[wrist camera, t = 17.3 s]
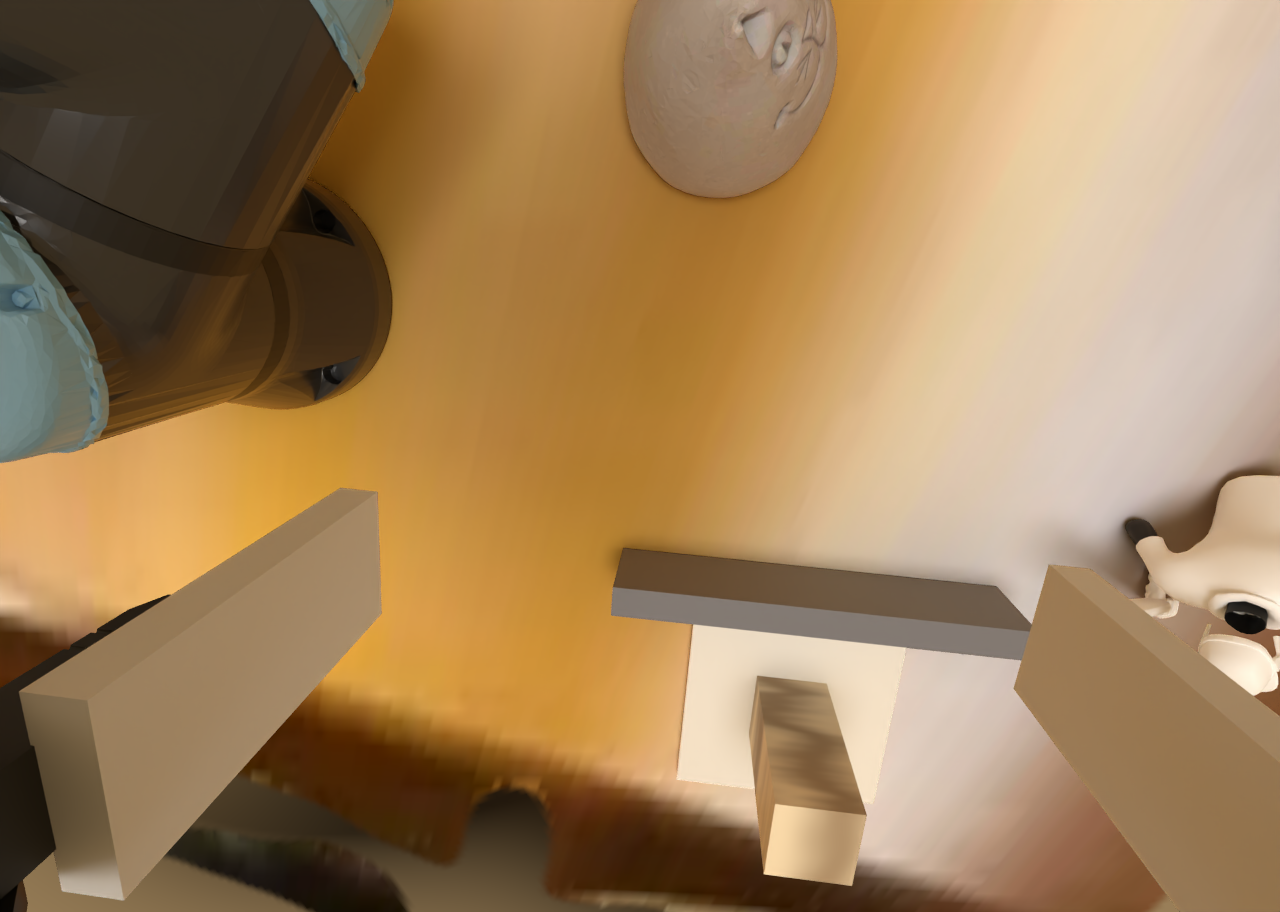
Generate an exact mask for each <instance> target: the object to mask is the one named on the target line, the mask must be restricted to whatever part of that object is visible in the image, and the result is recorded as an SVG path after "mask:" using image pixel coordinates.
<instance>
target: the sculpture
mask: <svg viewBox="0 0 1280 912" xmlns="http://www.w3.org/2000/svg"><path fill="white" fill-rule="evenodd" d="M836 67H837V36H836V24H835V16H834V11H833V7H832V4H831V0H638V1H637V4H636V6H635V8H634V11H633V15H632V18H631V22H630V26H629V32H628V38H627V44H626V51H625V58H624V89H625V101H626V110H627V115H628V120H629V124H630V128H631V132H632V135H633V137H634V140H635V142H636V144H637V146H638V148H639V149H640V151H641V152H642V154H643V155H644V157H645V158H646V160H647V161H648V163H649V164H650V165H651V167H652V168H653V169H654V170H655V171H656V172H657V173H658V174H659V176H660V177H661V178H662V179H663V180H664V181H665V182H667V183H668V184H670V185H671V186H673V187H674V188H677V189H679V190H681V191H684V192H686V193H689V194H692V195H697V196H702V197H712V198H727V197H735V196H740V195H743V194H747V193H749V192H752V191H754V190H757V189H759V188H761V187H764V186H766V185H768V184H769V183H771V182H773V181H775V180H776V179H778V178H779V177H781V176H782V175H783V174H785V173H786V172H787V171H788V170H789V169H790V168H791V167H793V165H794V164H795V163H796V162H797V160H798V159H799V158H800V156H801V155H802V153H803V152H804V150H805V149H806V147H807V146H808V144H809V142H810V141H811V139H812V138H813V136H814V134H815V133H816V131H817V129H818V126H819V125H820V123H821V120H822V118H823V116H824V113H825V111H826V108H827V106H828V103H829V100H830V97H831V93H832V89H833V85H834V81H835V75H836Z"/></svg>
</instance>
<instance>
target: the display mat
mask: <svg viewBox="0 0 1280 912" xmlns="http://www.w3.org/2000/svg"><path fill="white" fill-rule="evenodd" d="M905 653H906V648H904V647H895V646H886V645H877V644H867V643H858V642H849V641H840V640H831V639H822V638H813V637H803V636H794V635H785V634H776V633H767V632H758V631H749V630H739V629H730V628H721V627H712V626H703V625H694V624H693V628H692V637H691V646H690V656H689V665H688V674H687V684H686V693H685V702H684V711H683V721H682V730H681V739H680V749H679V758H678V767H677V780H684V781H692V782H700V783H708V784H716V785H724V786H732V787H740V788H748V789H755V786H754V776H753V767H752V757H751V748H750V738H749V729H750V722H751V715H752V708H753V701H754V694H755V687H756V680H757V676H765V677H774V678H783V679H792V680H800V681H809V682H818V683H827V686H828V690H829V693H830V696H831V700H832V703H833V706H834V709H835V713H836V716H837V719H838V723H839V726H840V729H841V733H842V736H843V739H844V742H845V746H846V749H847V752H848V756H849V759H850V762H851V765H852V769H853V772H854V775H855V779H856V782H857V785H858V789H859V792H860V795H861V798H862V802H863V803H869V804H873V803H874V799H875V794H876V789H877V785H878V780H879V775H880V770H881V766H882V761H883V756H884V752H885V747H886V742H887V738H888V733H889V728H890V724H891V719H892V714H893V709H894V705H895V700H896V695H897V691H898V686H899V681H900V677H901V672H902V667H903V662H904V658H905Z"/></svg>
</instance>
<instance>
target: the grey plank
mask: <svg viewBox="0 0 1280 912" xmlns="http://www.w3.org/2000/svg"><path fill="white" fill-rule="evenodd" d="M611 615H612V616H621V617H630V618H639V619H648V620H657V621H666V622H676V623H685V624H694V625H703V626H712V627H721V628H730V629H739V630H749V631H758V632H767V633H776V634H785V635H794V636H803V637H813V638H822V639H831V640H840V641H849V642H858V643H867V644H877V645H886V646H895V647H904V648H913V649H922V650H931V651H941V652H950V653H959V654H968V655H977V656H986V657H995V658H1005V659H1014V660H1022V658H1023V654H1024V651H1025V647H1026V644H1027V640H1028V637H1029V633H1030V630H1031V626H1032V624H1031V623H1030V622H1029V621H1028V620H1027V619H1026V618H1025V617H1024V616H1023V615H1022V614H1021V613H1020V611H1019V610H1018V609H1017V608H1016V607H1015V606H1014V605H1013V604H1012V603H1011V602H1010V601H1009V600H1008V598H1007V597H1006V596H1005V595H1004V594H1003V593H1002V592H1001V591H1000V590H999V589H998V588H997V587H996V586H986V585H977V584H967V583H957V582H948V581H938V580H928V579H918V578H909V577H899V576H889V575H880V574H870V573H860V572H850V571H841V570H831V569H821V568H812V567H802V566H792V565H783V564H773V563H763V562H753V561H744V560H734V559H724V558H715V557H705V556H695V555H685V554H676V553H666V552H656V551H647V550H637V549H627V548H623V551H622V555H621V559H620V563H619V566H618V570H617V574H616V578H615V581H614V585H613V594H612V609H611Z"/></svg>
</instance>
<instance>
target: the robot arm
mask: <svg viewBox="0 0 1280 912" xmlns="http://www.w3.org/2000/svg"><path fill="white" fill-rule="evenodd" d="M393 3H394V0H0V463H4V462H11V461H16V460H21V459H25V458H29V457H34V456H38V455H42V454H47V453H57V452H61V453H70V452H75V451H78V450H81V449H84V448H86V447H88V446H89V444H94V443H95V442H97V441H100V440H103V439H106V438H110V437H113V436H116V435H119V434H122V433H126V432H129V431H132V430H135V429H139V428H142V427H145V426H148V425H152V424H155V423H158V422H161V421H165V420H168V419H171V418H174V417H177V416H181V415H184V414H187V413H191V412H194V411H197V410H201V409H204V408H208V407H211V406H214V405H218V404H221V403H224V402H228V403H235V404H241V405H247V406H254V407H260V408H268V409H294V408H301V407H307V406H310V405H314V404H317V403H319V402H322V401H325V400H328V399H330V398H333V397H336V396H338V395H340V394H342V393H344V392H346V391H347V390H349V389H350V388H352V387H353V386H355V385H356V384H357V383H358V382H360V381H361V380H362V379H363V378H364V377H365V376H366V375H367V373H368V372H369V371H370V370H371V368H372V367H373V366H374V364H375V363H376V361H377V359H378V358H379V356H380V354H381V352H382V350H383V347H384V345H385V342H386V339H387V336H388V332H389V327H390V321H391V290H390V283H389V278H388V274H387V270H386V267H385V264H384V261H383V258H382V256H381V253H380V251H379V249H378V247H377V245H376V243H375V241H374V239H373V237H372V236H371V234H370V232H369V231H368V229H367V228H366V226H365V225H364V224H363V222H362V221H361V220H360V218H359V217H358V216H357V215H356V214H355V213H354V212H353V210H352V209H351V208H350V207H349V206H347V205H346V204H345V203H344V202H343V201H342V200H341V199H340V198H338V197H337V196H336V195H334V194H333V193H332V192H330V191H329V190H327V189H326V188H324V187H323V186H321V185H319V184H317V183H315V182H313V181H311V180H309V179H308V177H309V175H310V173H311V171H312V170H313V168H314V166H315V164H316V162H317V160H318V159H319V157H320V155H321V153H322V151H323V149H324V148H325V146H326V144H327V142H328V140H329V138H330V136H331V135H332V133H333V131H334V129H335V127H336V125H337V124H338V122H339V120H340V118H341V116H342V114H343V113H344V111H345V109H346V107H347V105H348V103H349V102H350V100H351V98H352V96H353V94H354V92H358V93H360V91H361V90H362V88H363V87H364V84H365V80H366V79H365V74H364V71H365V69H366V67H367V65H368V63H369V61H370V59H371V57H372V54H373V52H374V50H375V48H376V46H377V44H378V42H379V40H380V38H381V36H382V34H383V32H384V29H385V27H386V25H387V23H388V21H389V19H390V16H391V13H392V9H393ZM381 614H382V611H381V581H380V551H379V520H378V492H375V491H365V490H356V489H347V488H340V489H338V490H336V491H335V492H333V493H332V494H330V495H329V496H327V497H325V498H324V499H322V500H321V501H319V502H317V503H316V504H314V505H313V506H311V507H310V508H308V509H306V510H305V511H303V512H302V513H300V514H299V515H297V516H295V517H294V518H292V519H291V520H289V521H287V522H286V523H284V524H283V525H281V526H280V527H278V528H276V529H275V530H273V531H272V532H270V533H268V534H267V535H265V536H264V537H262V538H261V539H259V540H257V541H256V542H254V543H253V544H251V545H250V546H248V547H246V548H245V549H243V550H242V551H240V552H238V553H237V554H235V555H234V556H232V557H231V558H229V559H227V560H226V561H224V562H223V563H221V564H220V565H218V566H216V567H215V568H213V569H212V570H210V571H208V572H207V573H205V574H204V575H202V576H201V577H199V578H197V579H196V580H194V581H193V582H191V583H189V584H188V585H186V586H185V587H183V588H182V589H180V590H178V591H177V592H175V593H174V594H172V595H166V596H163V597H161V598H158V599H155V600H153V601H150V602H147V603H145V604H142V605H139V606H137V607H134V608H131V609H129V610H127V611H126V612H124V613H122V614H121V615H119V616H117V617H116V618H114V619H113V620H111V621H109V622H108V623H106V624H104V625H103V626H101V627H99V628H98V629H97V632H96V633H90V634H88V635H86V636H85V637H83V638H81V639H80V640H78V641H77V642H75V643H73V644H72V645H71V647H70V649H69V650H65V649H63V650H62V651H60V652H59V653H57V654H55V655H54V656H52V657H50V658H49V659H47V660H45V661H44V662H42V663H41V664H39V665H37V666H36V667H34V668H32V669H31V670H29V671H27V672H26V673H24V674H23V675H21V676H19V677H18V678H16V679H14V680H13V681H11V682H9V683H8V684H6V685H5V686H3V687H1V688H0V912H26V911H27V904H28V902H27V897H26V892H25V887H24V884H23V879H24V878H25V877H26V876H27V875H28V874H30V873H31V872H32V871H33V870H34V869H35V868H36V867H37V866H38V865H39V864H40V863H42V862H43V861H44V860H45V859H46V858H47V857H48V856H49V855H50V854H51V853H52V852H54V856H55V861H56V865H57V870H58V875H59V879H60V884H61V889H62V891H63V892H70V893H78V894H84V895H91V896H97V897H104V898H111V899H118V900H125V899H126V897H127V896H128V895H129V894H130V893H131V892H132V891H133V890H134V889H135V887H136V886H137V885H138V884H139V883H140V882H141V881H142V880H143V878H144V877H145V876H146V875H147V874H148V873H149V872H150V871H151V870H152V868H153V867H154V866H155V865H156V864H157V863H158V862H159V861H160V860H161V858H162V857H163V856H164V855H165V854H166V853H167V852H168V851H169V850H170V848H171V847H172V846H173V845H174V844H175V843H176V842H177V841H178V840H179V838H180V837H181V836H182V835H183V834H184V833H185V832H186V831H187V830H188V828H189V827H190V826H191V825H192V824H193V823H194V822H195V821H196V820H197V818H198V817H199V816H200V815H201V814H202V813H203V812H204V811H205V810H206V808H207V807H208V806H209V805H210V804H211V803H212V802H213V801H214V799H215V798H216V797H217V796H218V795H219V794H220V793H221V792H222V791H223V789H224V788H225V787H226V786H227V785H228V784H229V783H230V782H231V781H232V779H233V778H234V777H235V776H236V775H237V774H238V773H239V772H240V771H241V769H242V768H243V767H244V766H245V765H246V764H247V763H248V762H249V761H250V759H251V758H252V757H253V756H254V755H255V754H256V753H257V752H258V751H259V749H260V748H261V747H262V746H263V745H264V744H265V743H266V742H267V741H268V739H269V738H270V737H271V736H272V735H273V734H274V733H275V732H276V730H277V729H278V728H279V727H280V726H281V725H282V724H283V723H284V722H285V720H286V719H287V718H288V717H289V716H290V715H291V714H292V713H293V712H294V710H295V709H296V708H297V707H298V706H299V705H300V704H301V703H302V702H303V700H304V699H305V698H306V697H307V696H308V695H309V694H310V693H311V692H312V690H313V689H314V688H315V687H316V686H317V685H318V684H319V683H320V682H321V680H322V679H323V678H324V677H325V676H326V675H327V674H328V673H329V672H330V670H331V669H332V668H333V667H334V666H335V665H336V664H337V663H338V661H339V660H340V659H341V658H342V657H343V656H344V655H345V654H346V653H347V651H348V650H349V649H350V648H351V647H352V646H353V645H354V644H355V643H356V641H357V640H358V639H359V638H360V637H361V636H362V635H363V634H364V633H365V631H366V630H367V629H368V628H369V627H370V626H371V625H372V624H373V623H374V621H375V620H376V619H377V618H378V617H379V616H380V615H381ZM1014 690H1015V691H1016V692H1017V694H1018V695H1019V696H1020V698H1021V699H1022V700H1023V702H1024V703H1025V704H1026V706H1027V707H1028V709H1029V710H1030V711H1031V713H1032V714H1033V715H1034V717H1035V718H1036V719H1037V721H1038V722H1039V723H1040V725H1041V726H1042V727H1043V729H1044V730H1045V731H1046V733H1047V734H1048V735H1049V737H1050V738H1051V740H1052V741H1053V742H1054V744H1055V745H1056V746H1057V748H1058V749H1059V750H1060V752H1061V753H1062V754H1063V756H1064V757H1065V758H1066V760H1067V761H1068V762H1069V764H1070V765H1071V766H1072V768H1073V769H1074V771H1075V772H1076V773H1077V775H1078V776H1079V777H1080V779H1081V780H1082V781H1083V783H1084V784H1085V785H1086V787H1087V788H1088V789H1089V791H1090V792H1091V793H1092V795H1093V796H1094V797H1095V799H1096V800H1097V802H1098V803H1099V804H1100V806H1101V807H1102V808H1103V810H1104V811H1105V812H1106V814H1107V815H1108V816H1109V818H1110V819H1111V820H1112V822H1113V823H1114V824H1115V826H1116V827H1117V828H1118V830H1119V831H1120V833H1121V834H1122V835H1123V837H1124V838H1125V839H1126V841H1127V842H1128V843H1129V845H1130V846H1131V847H1132V849H1133V850H1134V851H1135V853H1136V854H1137V855H1138V857H1139V858H1140V859H1141V861H1142V862H1143V864H1144V865H1145V866H1146V868H1147V869H1148V870H1149V872H1150V873H1151V874H1152V876H1153V877H1154V878H1155V880H1156V881H1157V882H1158V884H1159V885H1160V886H1161V888H1162V889H1163V890H1164V892H1165V893H1166V895H1167V896H1168V897H1169V899H1170V900H1171V901H1172V903H1173V904H1174V905H1175V907H1176V908H1177V909H1178V910H1179V912H1280V716H1278V715H1277V714H1276V713H1275V712H1273V711H1272V710H1271V709H1269V708H1268V707H1267V706H1266V705H1264V704H1263V703H1262V702H1260V701H1259V700H1258V699H1257V698H1255V697H1254V696H1253V695H1251V694H1250V693H1249V692H1248V691H1246V690H1245V689H1244V688H1242V687H1241V686H1240V685H1239V684H1237V683H1236V682H1235V681H1234V680H1232V679H1231V678H1230V677H1228V676H1227V675H1226V674H1225V673H1223V672H1222V671H1221V670H1219V669H1218V668H1217V667H1216V666H1214V665H1213V664H1212V663H1210V662H1209V661H1208V660H1207V659H1205V658H1204V657H1203V656H1201V655H1200V654H1199V653H1198V652H1196V651H1195V650H1194V649H1193V648H1191V647H1190V646H1189V645H1187V644H1186V643H1185V642H1184V641H1182V640H1181V639H1180V638H1178V637H1177V636H1176V635H1175V634H1173V633H1172V632H1171V631H1169V630H1168V629H1167V628H1166V627H1164V626H1163V625H1162V624H1160V623H1159V622H1158V621H1157V620H1155V619H1154V618H1153V617H1151V616H1150V615H1149V614H1148V613H1146V612H1145V611H1144V610H1143V609H1141V608H1140V607H1139V606H1137V605H1136V604H1135V603H1134V602H1132V601H1131V600H1130V599H1128V598H1127V597H1126V596H1125V595H1123V594H1122V593H1121V592H1119V591H1118V590H1117V589H1116V588H1114V587H1113V586H1112V585H1110V584H1109V583H1108V582H1107V581H1105V580H1104V579H1103V578H1102V577H1100V576H1099V575H1098V574H1096V573H1095V572H1094V571H1093V570H1091V569H1086V568H1077V567H1068V566H1058V565H1049V566H1048V570H1047V573H1046V577H1045V580H1044V584H1043V587H1042V591H1041V594H1040V598H1039V601H1038V605H1037V608H1036V612H1035V616H1034V619H1033V623H1032V626H1031V630H1030V633H1029V637H1028V640H1027V644H1026V647H1025V651H1024V654H1023V658H1022V661H1021V665H1020V668H1019V672H1018V675H1017V679H1016V682H1015V686H1014Z"/></svg>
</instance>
